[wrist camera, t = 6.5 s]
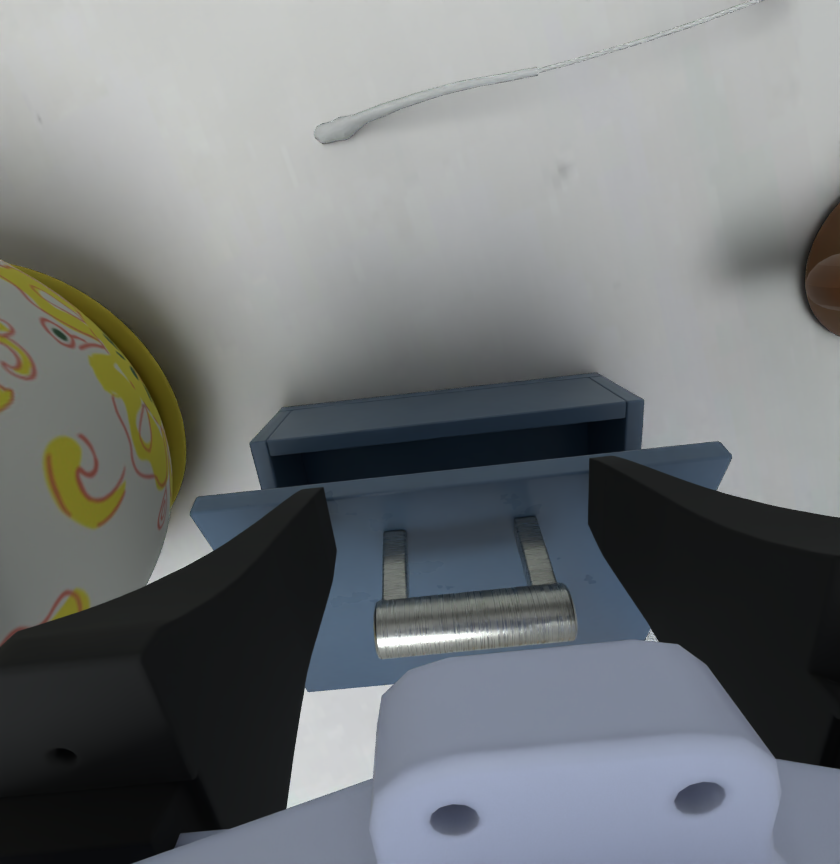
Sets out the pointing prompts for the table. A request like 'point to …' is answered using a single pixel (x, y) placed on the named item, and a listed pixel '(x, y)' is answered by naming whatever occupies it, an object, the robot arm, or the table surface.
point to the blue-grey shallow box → (447, 430)
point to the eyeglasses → (474, 86)
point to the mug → (825, 273)
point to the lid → (462, 562)
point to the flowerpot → (78, 453)
